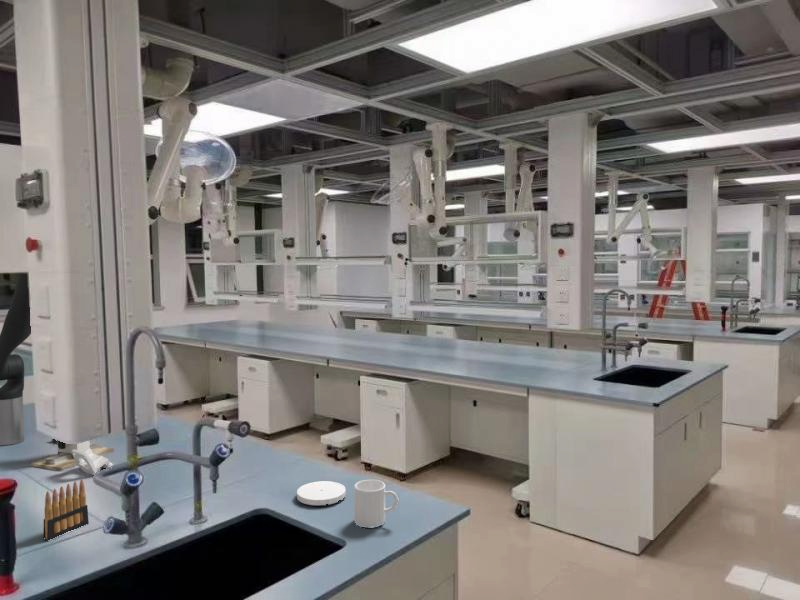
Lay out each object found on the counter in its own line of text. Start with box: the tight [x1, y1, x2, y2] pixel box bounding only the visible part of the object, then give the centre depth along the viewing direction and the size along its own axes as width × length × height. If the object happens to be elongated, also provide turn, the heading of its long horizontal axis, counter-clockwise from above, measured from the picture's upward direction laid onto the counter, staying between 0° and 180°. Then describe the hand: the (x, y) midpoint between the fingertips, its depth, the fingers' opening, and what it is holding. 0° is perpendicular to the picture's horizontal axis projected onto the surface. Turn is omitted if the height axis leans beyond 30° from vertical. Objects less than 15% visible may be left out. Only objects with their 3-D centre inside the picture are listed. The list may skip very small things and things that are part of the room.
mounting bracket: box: [72, 448, 114, 476], centre depth 184 cm, size 12×6×11 cm, turn 56°
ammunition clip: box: [43, 478, 90, 541], centre depth 142 cm, size 11×2×12 cm, turn 154°
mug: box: [353, 479, 400, 527], centre depth 147 cm, size 8×12×10 cm, turn 71°
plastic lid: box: [296, 480, 347, 506], centre depth 163 cm, size 14×14×2 cm
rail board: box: [30, 442, 115, 471], centre depth 197 cm, size 14×21×2 cm, turn 161°
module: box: [56, 440, 91, 459], centre depth 197 cm, size 9×5×8 cm, turn 71°
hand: (73, 444), depth 197 cm, fingers open, 8 cm apart
